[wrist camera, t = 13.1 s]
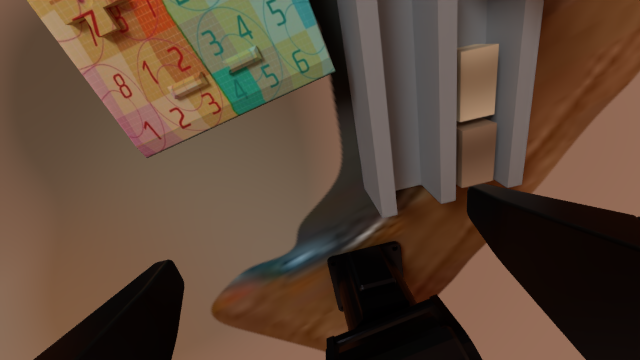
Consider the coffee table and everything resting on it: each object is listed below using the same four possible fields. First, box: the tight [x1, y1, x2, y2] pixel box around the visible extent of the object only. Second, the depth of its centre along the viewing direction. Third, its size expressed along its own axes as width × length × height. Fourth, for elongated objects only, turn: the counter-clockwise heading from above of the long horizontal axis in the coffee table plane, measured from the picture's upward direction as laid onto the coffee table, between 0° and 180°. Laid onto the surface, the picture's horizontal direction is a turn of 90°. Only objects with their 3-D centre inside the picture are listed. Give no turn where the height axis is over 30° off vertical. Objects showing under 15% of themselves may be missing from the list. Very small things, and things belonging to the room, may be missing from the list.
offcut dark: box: [456, 117, 497, 188], centre depth 20 cm, size 4×2×2 cm, turn 11°
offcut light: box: [456, 44, 499, 122], centre depth 18 cm, size 4×2×2 cm, turn 11°
